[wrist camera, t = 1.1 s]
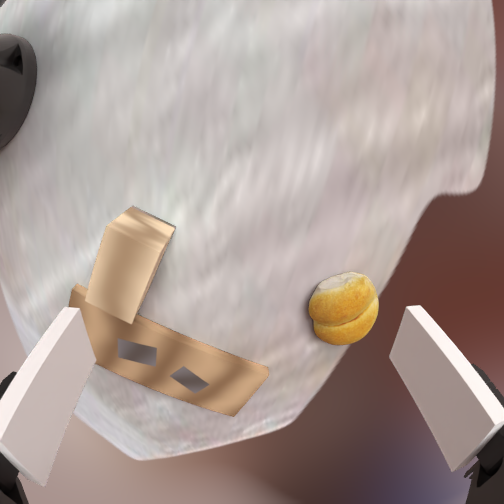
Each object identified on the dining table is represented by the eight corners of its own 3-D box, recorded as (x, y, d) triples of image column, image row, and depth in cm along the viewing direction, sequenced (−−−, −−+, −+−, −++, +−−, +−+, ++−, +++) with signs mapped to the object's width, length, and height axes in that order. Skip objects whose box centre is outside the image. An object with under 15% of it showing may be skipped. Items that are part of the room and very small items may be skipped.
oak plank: (66, 339, 35) (61, 346, 33) (77, 283, 32) (71, 289, 30) (233, 409, 40) (233, 417, 39) (268, 367, 37) (269, 375, 36)
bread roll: (318, 343, 36) (325, 364, 33) (300, 285, 33) (307, 304, 29) (378, 320, 36) (390, 338, 32) (368, 260, 32) (382, 276, 29)
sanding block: (110, 269, 31) (84, 300, 25) (133, 205, 29) (106, 225, 22) (149, 288, 32) (131, 324, 26) (176, 226, 30) (160, 252, 23)
